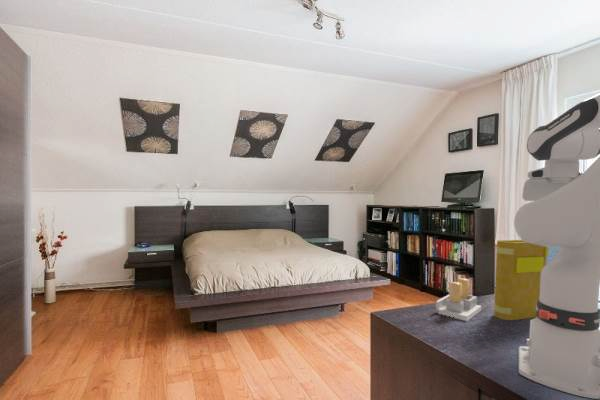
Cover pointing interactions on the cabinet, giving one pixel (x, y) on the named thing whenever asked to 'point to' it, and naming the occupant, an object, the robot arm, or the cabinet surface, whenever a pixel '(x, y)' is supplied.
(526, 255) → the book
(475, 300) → the housing
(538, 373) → the robot arm
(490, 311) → the cabinet surface
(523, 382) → the cabinet surface
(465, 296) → the tan wooden block
